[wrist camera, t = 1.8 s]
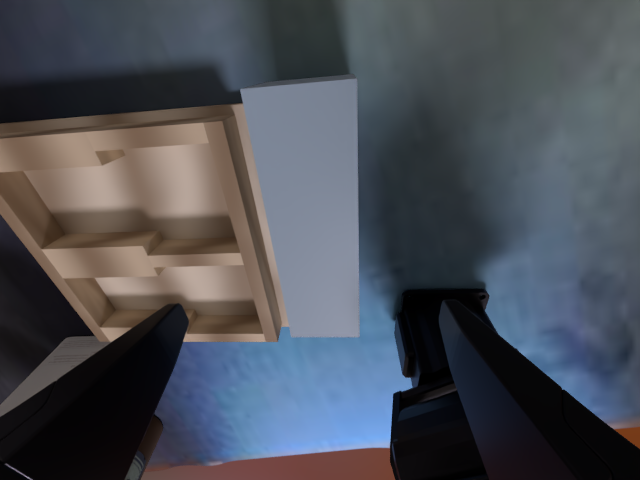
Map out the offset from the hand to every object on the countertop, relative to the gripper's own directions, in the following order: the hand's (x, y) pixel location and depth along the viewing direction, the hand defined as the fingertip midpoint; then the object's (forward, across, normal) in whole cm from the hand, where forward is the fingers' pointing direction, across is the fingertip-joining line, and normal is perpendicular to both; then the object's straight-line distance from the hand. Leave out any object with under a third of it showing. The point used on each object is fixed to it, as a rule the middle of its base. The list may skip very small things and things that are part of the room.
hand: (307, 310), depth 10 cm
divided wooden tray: (+10, +13, +3) cm, 17 cm away
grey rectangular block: (+10, 0, 0) cm, 10 cm away
